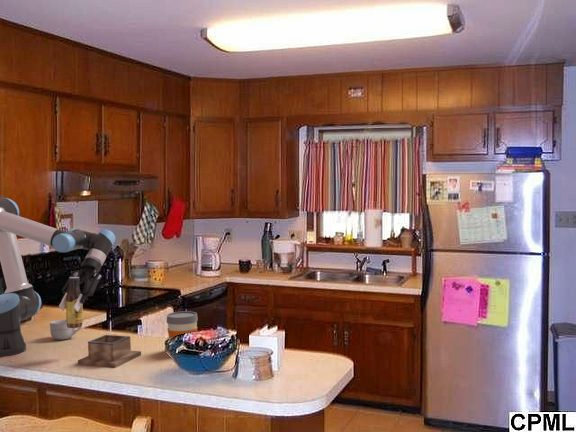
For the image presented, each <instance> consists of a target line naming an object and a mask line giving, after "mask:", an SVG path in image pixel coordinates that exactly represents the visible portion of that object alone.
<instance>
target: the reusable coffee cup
mask: <svg viewBox="0 0 576 432" xmlns="http://www.w3.org/2000/svg"><path fill="white" fill-rule="evenodd" d="M198 317H199V316H198V313H197V312H195V311H189V310H187V311H184V310H183V311H182V310H181V311H175V312H170V313H168V314H166V324H167V327H168V328H167V335H168V339H169V338H171V337H174V336H176V335H179V334H184V333H189V332H194V331H197V332H198V326H197V325H198Z"/></svg>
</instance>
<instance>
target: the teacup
mask: <svg viewBox="0 0 576 432" xmlns="http://www.w3.org/2000/svg"><path fill="white" fill-rule="evenodd" d="M82 327H83V325H82V326H81V327H78V328H77V329H76V328H68V327H67V323H66V319H58V320H53V321H50V322H49V328H50V329H49V330H50V335H51V337H52V338H53V339H55V340H70V339H71V338H72V337H73V336H74V335H76V334H77V332H79V331H81V329H82Z"/></svg>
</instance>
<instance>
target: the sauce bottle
mask: <svg viewBox="0 0 576 432" xmlns="http://www.w3.org/2000/svg"><path fill="white" fill-rule="evenodd" d="M68 279H69V291H68V293H67V295H66V307H65V314H66V315H65V320H66V323H67V327H68V328H75V329H76V328H77V329H78V328H79V327H81V326H82V327H83V322H84V316H83V315H84V312H83V311H84V310H83V309H84V307H83V305H84V303H83V304H82V305H81V307H80V309H79V311H76V310H75V309H74V308H73V307H74V305H75V303H76V301H77V299H78V297H79V295H80V294H82V291H81V289H80V285H79V281H80V278H79V277H70V276H69V277H68Z"/></svg>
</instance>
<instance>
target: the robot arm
mask: <svg viewBox="0 0 576 432" xmlns="http://www.w3.org/2000/svg"><path fill="white" fill-rule="evenodd" d="M17 236H19V237H22V238H24V239H25V238H26V239H28V240H31V241H34V242H37V243H40V244H43V245H45V246H49V247H52V248H53V249H54V250H55V251H56V252H58V253H70V252H71V251H74V250H75V251H76V250H79V249H81V250H82V249H83V250H87V251H88V252H87V254H86V256H85V257H84V260H83V261H82V263H81V266H80V269H79V270H78V271H77V272H75V271H72V272H70V276H69V277H79V278H80V281H79V286H80V285H82V284H83V283H84V285H83V290H82V293H81V294H80V295H79V297H78V299H77V301H76V303H75V305H74V307H73V308H74V309H75V310H76V311H79V309H80V307H81V305H82V304H83V305H84V304H85V301H86V299H88V297H92V296H93V295H94V293H95V291H96V288H97V286H98V284H99V282H100V280H101V279H102V275H101V274H100V273H99V272H100V271H101V269H102V266H103V265H104V263H105V261H106V258H107V257H108V255H109V254H110V252H111V249H112V248H113V246H114V244H115V241H116V236H115V234H114V233H113V232H112V231H111V230H109V229H101V230H100V231H99V232H98V233H97V232H91V231H87V230H82V229H80V228H69V230H67V231H64V230H61V229H58V228H55V227H52V226H49V225H46V224H44V223H40V222H39V221H38V222H37V221H34V220H32V219H29V218H26V217H24V216H23V217H22V216H20V209H19V206H18V205H17V203H16V202H15V201H14V200H12V199H11V198H8V197H2V196H1V197H0V265H1V269H2V274H3V278H4V281H5V286H6V289H5V291H4V293H2V294H0V357H8V356H13V355H18V354H21V353H24V352H26V350H27V344H26V342H25V340H24V337H23V334H22V331H21V330H22V329H21V322H23V321H25V320H27V319H31V318H32V317H34V316H35V315H37V314H38V312H39V311H40V309H41V306H42V299H41V296H40V295H39V293H38V292H36V291H35V290H34V286H33V285H32V284H31V283H29V281H28V278H27V274H26V270H25V266H24V262H23V261H24V260H23V258H22V254H21V250H20V247H19V246H20V245H19V242H18V239H17V238H18V237H17ZM68 291H69V278H68V280H67V281H66V283H65V284H64V286H63V287H62V289H61V292H62V293H63V295H62V297H61V302H60V303H59V305H58V307H59V309H60V310H61V311H64V310H66V295H67V293H68Z"/></svg>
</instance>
